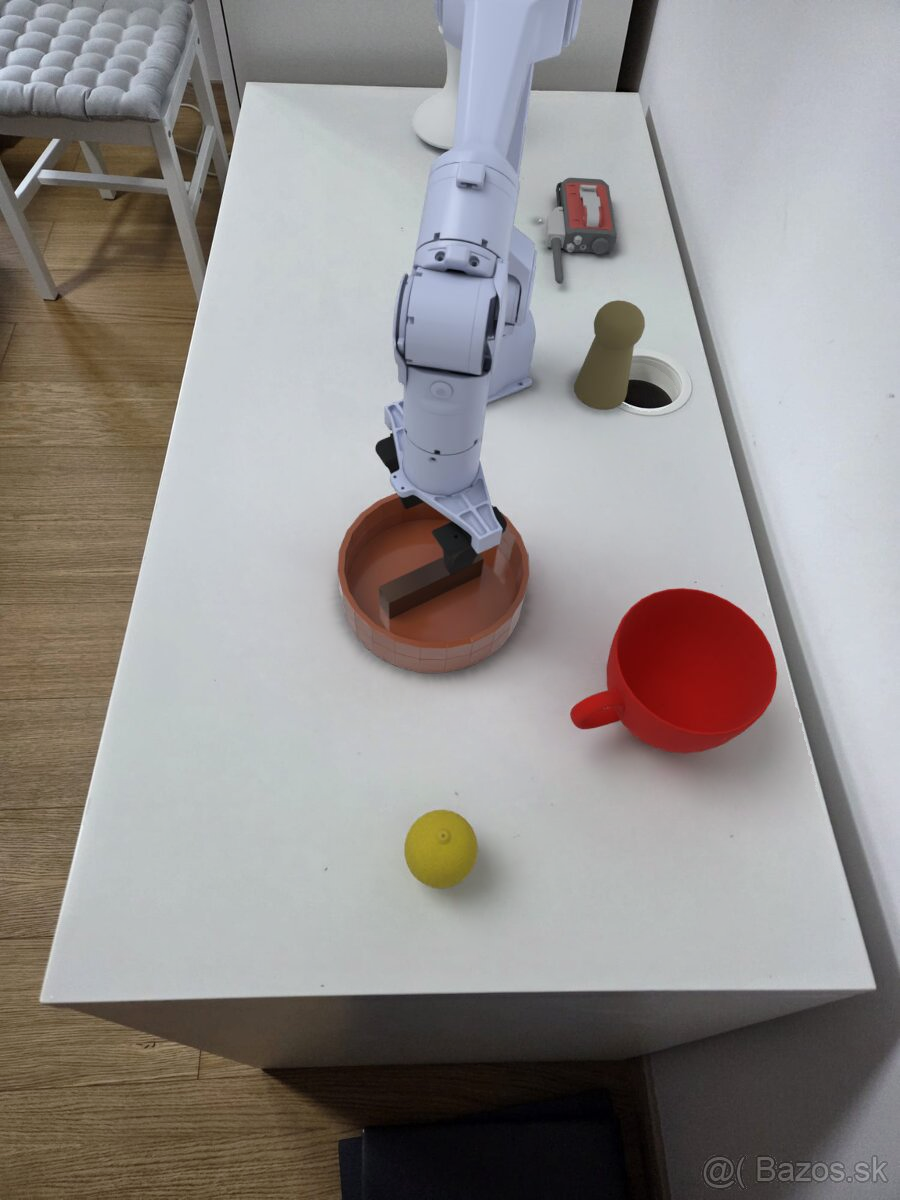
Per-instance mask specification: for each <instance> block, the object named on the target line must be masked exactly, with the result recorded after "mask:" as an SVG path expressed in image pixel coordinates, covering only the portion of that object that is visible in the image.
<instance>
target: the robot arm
mask: <svg viewBox="0 0 900 1200" xmlns="http://www.w3.org/2000/svg"><path fill="white" fill-rule="evenodd" d="M582 6H583V0H433V10H434V11H433V12H434V17H435V19H436V21H437V22H438V23H439V24H440V26H441V28H442V29H443V36H442V38H443V41H444V40H445V41H447V42H448V43H450V44H451V45H452V46H454V47H455V48H457V49H458V50H459V51H461V63H460V74H459V86H458V98H457V109H456V121H455V132H454V144H453V148H452V149H450V150H449V149H447V151H445V152H443V153H441V154H440V155H439V156H438V157H436V158H435V160H434V161H433V162H432V164H431V166H430V168H429V172H428V179H427V184H426V188H425V189H426V190H425V195H424V201H423V206H422V212H421V217H420V222H419V227H418V228H419V229H418V234H417V240H416V245H415V246H416V247H415V251H414V257H413V261H412V268H411V273H410V275H409V274H408V273H407V272H404V273H402V276H401V279H400V281H399V285H398V288H397V293H396V297H395V303H394V310H393V320H392V345H393V346H392V347H393V356H394V363H395V365H396V366H397V382H398V383H400V384H401V385H402V386H403V388H402V389H403V390H402V391H403V398H402V399H400V400H396V401H394V402H392V403H390V404H387V405H384V406H383V411H384V412H383V413H384V415H383V416H384V417H383V418H384V424H385V426H386V427H387V428H388V430H389V431H391V432H392V433H390V434H389V436H387V437H384V438H382V439H380V440H379V441H377V442H376V444H375V447H374V448H375V449H374V450H375V453H376V454H377V456H378V457H379V459H380V460H381V462H382V463H383V465H384V466H385V467H386V468H387V469H388V471H389V473H390V476H389V483H390V486H391V487H392V489H393V490H394V491H395V493H397V494H398V496H399V498H400V501H401V503H402V505H403V506H404V508H405V509H406V510H407V509H409V508H412V507H414V506H416V505H418V504H421V503H423V502H426V503H427V504H429V505H430V506H432V507H433V508H434V509H436V510H437V511H439V512H440V513H441V514H443V515H444V516H446V517H447V518H449V519H450V520H451V521H452V522H450V523H448V524H446V525H443V526H441V527H439V528H437V529H434V530H432V534H433V536H434V537H435V539H436V540H437V542H438V543H439V545H440V546H441V548H442V550H443V555H444V565H445V568H446V569H447V571H448V573H449V574H450V575H454V574H456V573H459V572H461V571H463V570H465V569H467V568H469V567H471V565H472V563H473V562H474V560H475V558H476V557H477V555H478V554H479V553H481V552H483V551H486V550H488V549H490V548H492V547H494V546H496V545H498V544H500V540H501V535H502V533H504V532H505V531H506V527H507V522H506V519H505V518H504V516H503V515H502V514H501V513H502V511H500V509H499V508H498V506H495V505H493V504H492V501H491V497H490V493H489V490H488V486H487V482H486V477H485V474H484V470H483V467H482V461H481V453H482V452H481V451H482V446H483V445H482V444H483V437H484V428H485V422H486V421H485V420H486V413H487V406H488V405H487V404H489V403H492V402H494V401H498V400H499V399H502V398H505V397H506V396H510V395H512V394H515V393H516V392H520V391H522V390H525V389H527V388H529V387H532V385H533V380H532V378H530V371H531V366H532V360H533V355H534V348H535V344H536V339H537V338H536V337H537V331H536V329H537V328H536V324H535V319H534V316H533V314H532V311H531V310H530V308H531V302H532V301H531V300H532V295H533V290H534V283H535V276H536V270H537V266H536V263H537V257H538V250H537V249H536V243H535V242H534V241H533V240H532V239H531V238H530V237H529V236H528V235H526V234H525V233H524V232H522V231H521V230H520V229H519V228H517V226H515V221H516V215H517V207H518V202H519V201H518V200H519V197H520V189H521V185H520V184H521V183H520V174H521V166H522V160H523V152H524V145H525V137H526V130H527V129H526V128H527V124H528V123H527V121H528V115H529V109H530V108H529V106H530V100H531V94H532V93H531V91H532V86H533V85H532V84H533V79H534V78H533V76H534V70H535V65H536V64H535V63H539V62H542V61H545V60H549V59H552V58H556V57H559V56H560V55H561V53H562V48H567V47H569V45H570V43H571V42H573V41H574V40H575V39H576V38H577V33H578V29H579V23H580V18H581V11H582ZM445 41H444V42H445ZM492 505H493V506H494V507H492Z"/></svg>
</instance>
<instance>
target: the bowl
mask: <svg viewBox="0 0 900 1200" xmlns="http://www.w3.org/2000/svg"><path fill="white" fill-rule="evenodd" d="M491 505H492V507H494V506H495V505H493V504H491ZM501 514H502V515H503V516H504V518H505V519H506V522H507V527H506V531H505V532H504V533H502V535H501V540H500V544H498V545H496V546H494V547H492V548H490V549H488V550H486V551H483V552H481V553H480V554H481V555H482V556H483V558H484V562H483V568H482V574H481V576H479V577H477V578H475V579H473V580H471V581H469V582H467V583H464V584H462V585H460V586H458V587H456V588H454V589H452V590H450V591H448V592H446V593H443V594H441V595H439V596H437V597H435V598H433V599H431V600H429V601H427V602H425V603H422V604H420V605H418V606H416V607H414V608H412V609H410V610H408V611H406V612H404V613H401V614H399V615H397V616H395V617H393V618H391V619H389V618H388V616H387V614H386V613H385V611H384V610H383V608H382V606H381V605H380V603H379V586H381V585H383V584H385V583H388V582H390V581H392V580H394V579H396V578H398V577H401V576H403V575H405V574H407V573H409V572H411V571H414V570H416V569H418V568H420V567H422V566H424V565H427V564H429V563H431V562H433V561H435V560H437V559H440V558H442V557H444V555H443V550H442V548H441V546H440V545H439V543H438V542H437V540H436V539H435V537H434V536H433V534H432V530H434V529H437V528H439V527H441V526H443V525H446V524H448V523H450V522H452V521H451V520H450V519H449V518H447V517H446V516H444V515H443V514H441V513H440V512H439V511H437V510H436V509H434V508H433V507H432V506H430V505H429V504H427V503H426V502H423V503H421V504H418V505H416V506H414V507H412V508H409V509H407V510H406V509H405V508H404V506H403V505H402V503H401V501H400V498H399V496H398V494H397V493H396V492H395V493H392V494H390V495H387V496H386V497H383V498H380V499H378V500H377V501H375V502H374V503H372V504H371V505H369V507H367V508H366V509H365V510H363V511H362V512H361V513H359V515H358V516H357V517H356V518H355V520H354V521H353V522H352V524H351V525H350V526H349V527H348V528H347V530H346V531H345V534H344V537H343V540H342V542H341V545H340V546H339V549H338V556H337V558H338V560H337V579H338V588H339V595H340V600H341V604H342V610H343V613H344V617H345V619H346V621H347V623H348V626H349V628H350V630H351V631H352V633H353V634H354V635H355V637H356V639H358V641H359V642H360V643H361V644H362V645H363V647H365V648H366V649H367V650H369V652H371V653H372V654H373V655H374V656H376V657H378V658H380V659H381V660H383V661H384V662H386V663H388V664H391V665H393V666H394V667H398V668H400V669H404V670H407V671H412V672H418V673H425V674H426V673H428V674H442V673H449V672H456V671H459V670H462V669H466V668H470V667H472V666H474V665H476V664H479V663H481V662H482V661H484V660H485V659H487V658H489V657H490V656H492V655H493V654H494V653H496V652H497V651H499V649H500V648H501V647H502V646H503V645H504V644H505V643H506V642H507V640H508V639H509V637H511V634H512V633H513V631H514V630H515V628H516V625H517V624H518V622H519V621H520V620H519V619H520V616H521V612H522V608H523V604H524V600H525V597H526V592H527V588H528V585H529V580H530V577H531V575H530V561H529V560H530V559H529V553H528V550H527V547H526V546H525V542H524V540H523V537H522V535H521V534H520V532H519V531H518V530H517V528H516V527H515V526H514V524H513V523H512V521H511V520H510V519H509V517H508V516H506V515H505V514H504V513H502V512H501Z"/></svg>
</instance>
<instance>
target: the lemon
mask: <svg viewBox="0 0 900 1200" xmlns="http://www.w3.org/2000/svg"><path fill="white" fill-rule="evenodd" d="M478 848H479V847H478V839H477V835H476V833H475V831H474V829H473V827H472V825H471V824H470V823H469V821H468V820H467V819H466V818H465V817H463V816H462V815H461V814H459V813H458V812H455V811H453V810H447V809H435V810H431V811H429V812H426V813H424V814H423V815H421V816H420V817H418V818H417V819H416V820H415V821H414V823H412V824H411V826H410V828H409V830H408V832H407V833H406V836H405V840H404V849H403V851H404V853H403V854H404V858H405V863H406V866H407V867H408V869H409V872H410V873H411V874H412V876H414V878H415V879H416V880H417V881H419V882H420V883H422V884H423V885H425V886H427V887H431V888H434V889H447V888H452V887H454V886H456V885H458V884H460V883H462V882H463V881H464V880H465V879H466V878H467V877H468V876H469V875H470V874H471V872H472V871H473V869H474V867H475V865H476V861H477V859H478Z"/></svg>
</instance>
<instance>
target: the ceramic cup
mask: <svg viewBox="0 0 900 1200" xmlns="http://www.w3.org/2000/svg"><path fill="white" fill-rule="evenodd" d="M771 645H772V644H770V642H769V640H768V638H767V636H766V634H765V633H764V630H762V628H761V627H760V626H759V625H758V623H756V621H755V620H754V619H753V618H752V617H751V616H750V615H748V614H747V612H745V611H744V610H743V609H742V608H740V607H739V606H737V605H736V604H734V603H733V602H731V601H729V600H728V599H726V598H723V597H721V596H719V595H717V594H715V593H713V592H708V591H704V590H700V589H696V588H695V589H694V588H685V587H682V588H681V587H680V588H679V587H678V588H667V589H664V590H659V591H656V592H652V593H651V594H648V595H646V596H644V597H643V598H641V599H639V600H638V601H637V602H636V603H634V604H633V605H632V606H631V607H630V608H629V609H628V610H627V612H626V613H625V614H624V615H623V617H622V618H621V620H620V622H619V624H618V626H617V628H616V631H615V633H614V635H613V637H612V641H611V644H610V648H609V652H608V657H607V663H606V688H607V690H604V691H600V692H597V693H594V694H592V695H589V696H587V697H585V698H583V699H582V700H580V701H579V702H576V704H575V705H574V706H572V708H571V709H570V713H569V716H570V717H569V718H570V720H571V722H572V723H573V725H574V726H575V727H576V728H577V729H579V730H591V729H596V728H600V727H605V726H608V725H610V724H614V723H617V722H621V723H622V724H623V726H624V727H625V728H626V730H628V731H629V732H630V733H631V734H632V735H633V736H634V737H636V738H637V739H638V740H640V741H641V742H643V743H644V744H646V745H648V746H651V747H653V748H655V749H657V750H660V751H665V752H668V753H676V754H694V753H701V752H706V751H708V750H712V749H715V748H718V747H720V746H722V745H724V744H726V743H728V742H729V741H731V740H734V739H735V738H736V737H739V735H741V734H742V733H744V732H745V731H747V730H748V729H749V728H750V727H751V726H753V724H754V723H755V722H757V721H758V720H759V719H760V718H761V717H762V716H763V715H764V714H765V712H766V710H767V709H768V707H769V706H770V704H771V703H772V701H773V698H774V694H775V691H776V689H777V679H778V670H777V662H776V657H775V654H774V651H773V648H772V646H771Z"/></svg>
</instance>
